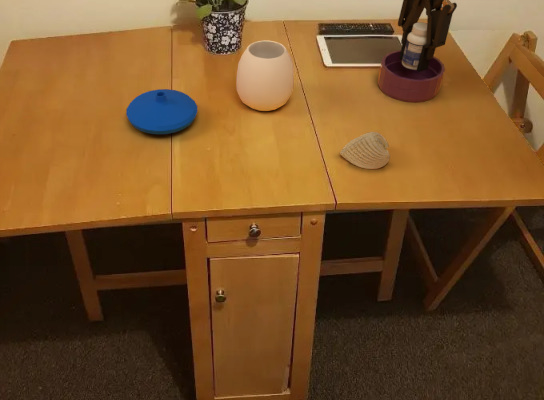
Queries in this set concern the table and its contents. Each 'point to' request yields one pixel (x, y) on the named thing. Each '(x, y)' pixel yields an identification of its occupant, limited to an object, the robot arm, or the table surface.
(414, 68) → the pill bottle
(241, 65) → the white rounded pot
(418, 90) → the bowl
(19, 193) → the table surface
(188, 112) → the blue lid with knob
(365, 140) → the seashell
